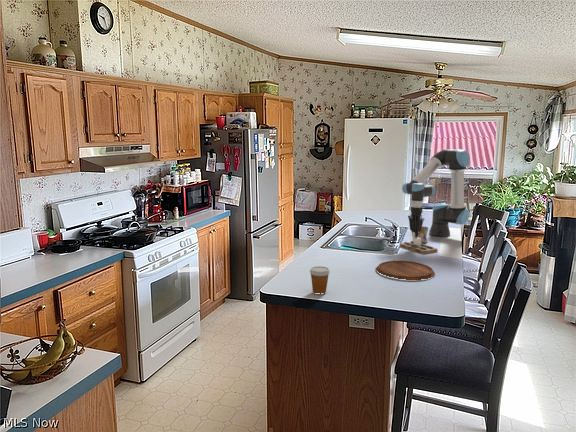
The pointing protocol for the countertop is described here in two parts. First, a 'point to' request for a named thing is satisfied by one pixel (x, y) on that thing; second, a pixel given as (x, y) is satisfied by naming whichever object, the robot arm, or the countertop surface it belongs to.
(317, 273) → the beer glass
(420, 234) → the mug
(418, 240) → the fader knob
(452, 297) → the countertop surface
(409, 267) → the cutting board
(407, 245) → the wooden tray
